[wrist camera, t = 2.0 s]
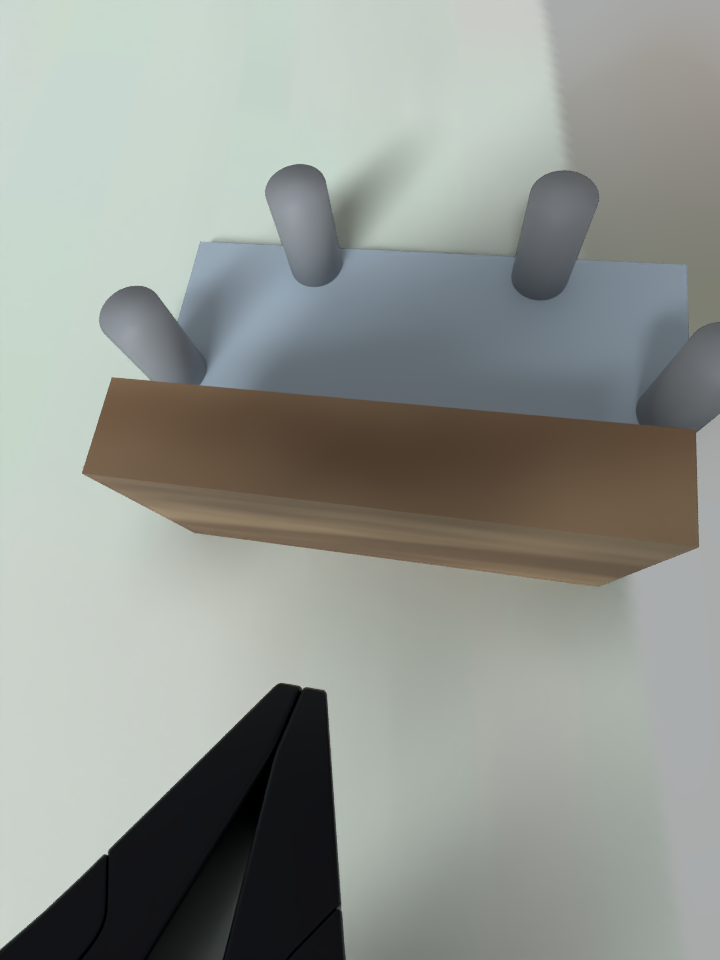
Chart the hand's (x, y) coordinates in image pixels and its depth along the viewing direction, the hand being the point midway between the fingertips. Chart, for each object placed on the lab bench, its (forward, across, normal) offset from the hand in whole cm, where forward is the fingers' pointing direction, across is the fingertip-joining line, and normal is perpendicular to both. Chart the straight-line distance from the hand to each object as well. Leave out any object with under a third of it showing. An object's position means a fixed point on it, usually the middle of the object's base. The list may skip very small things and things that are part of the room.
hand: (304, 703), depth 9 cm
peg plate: (+18, 0, -1) cm, 18 cm away
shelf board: (+12, 0, +4) cm, 13 cm away
